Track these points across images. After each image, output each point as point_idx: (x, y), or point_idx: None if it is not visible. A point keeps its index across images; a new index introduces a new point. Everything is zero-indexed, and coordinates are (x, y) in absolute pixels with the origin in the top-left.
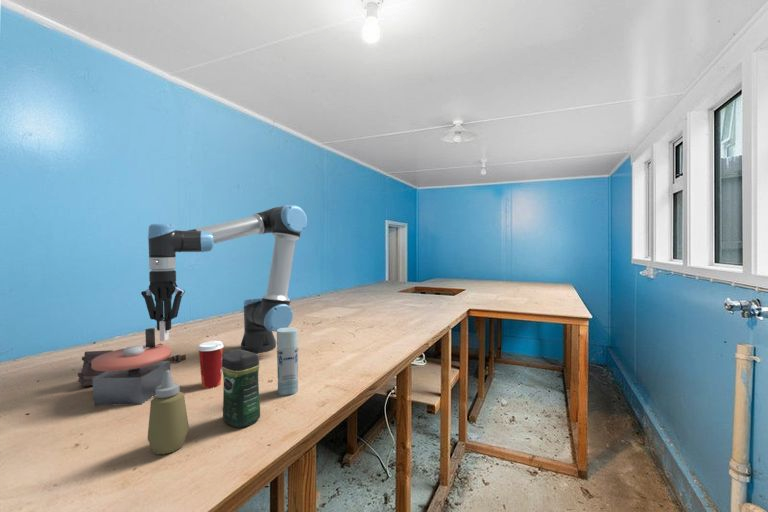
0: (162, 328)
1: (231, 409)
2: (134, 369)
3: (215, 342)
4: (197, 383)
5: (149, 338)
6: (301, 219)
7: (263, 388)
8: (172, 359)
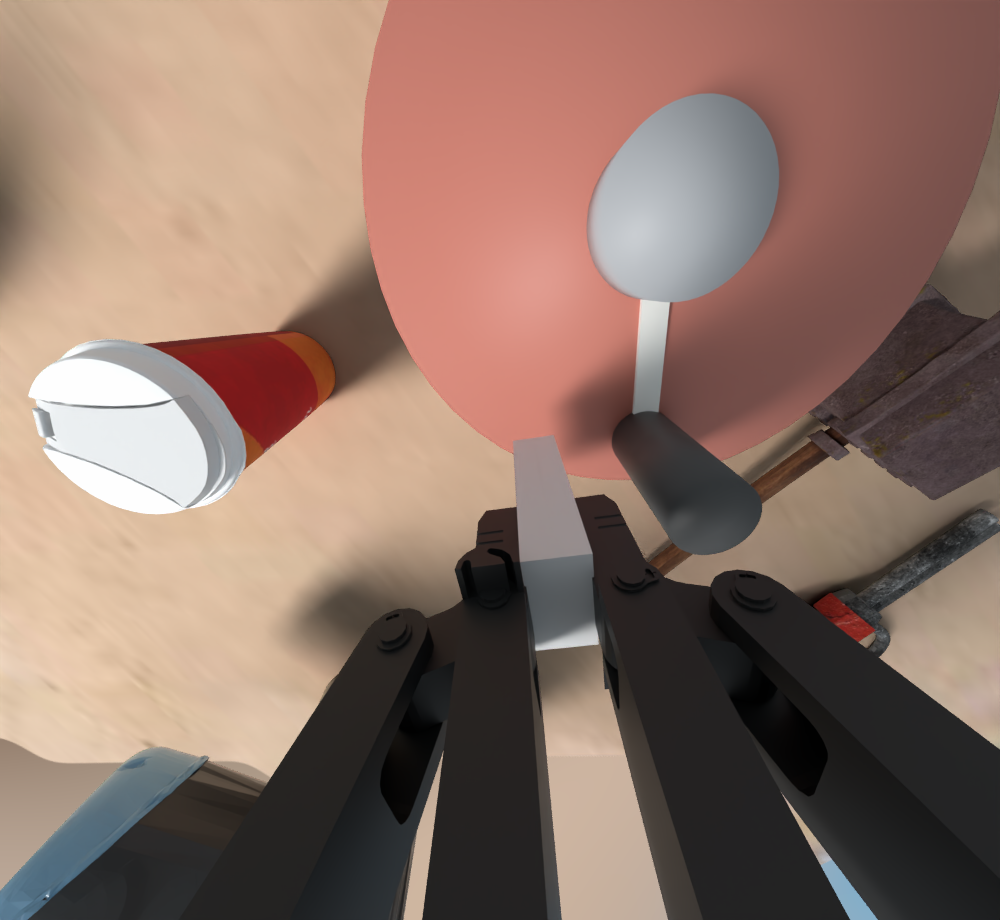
0: (539, 499)
1: None
2: None
3: (119, 476)
4: (375, 384)
5: (660, 441)
6: None
7: (38, 344)
8: None
